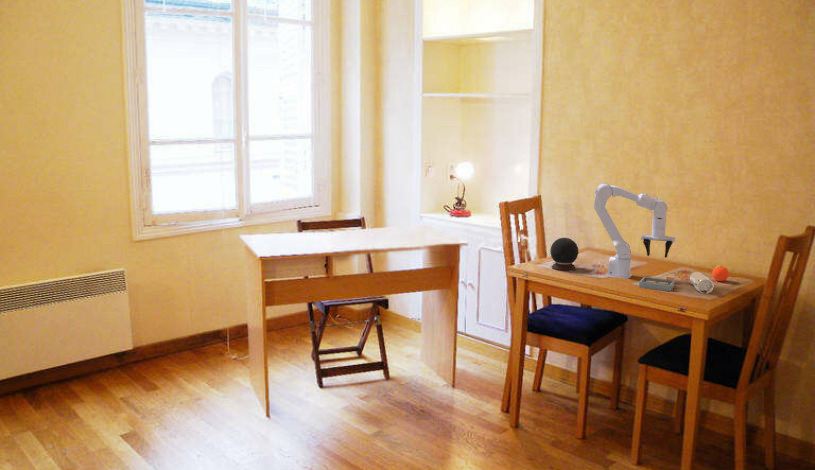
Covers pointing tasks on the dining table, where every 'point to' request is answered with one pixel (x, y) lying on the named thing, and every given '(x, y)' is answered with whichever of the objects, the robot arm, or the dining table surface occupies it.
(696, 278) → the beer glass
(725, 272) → the clementine
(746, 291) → the dining table surface
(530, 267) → the dining table surface
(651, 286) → the tub
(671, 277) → the lid
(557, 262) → the black ball on stand
